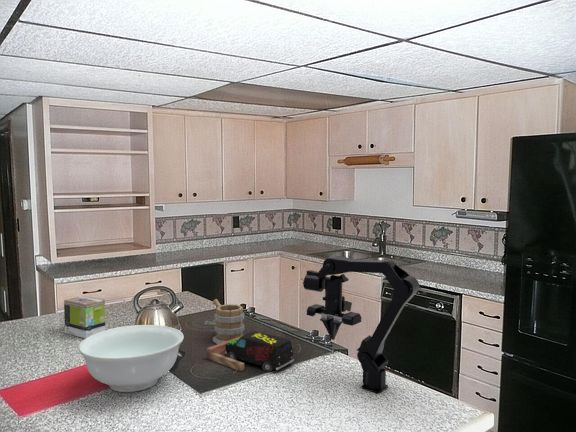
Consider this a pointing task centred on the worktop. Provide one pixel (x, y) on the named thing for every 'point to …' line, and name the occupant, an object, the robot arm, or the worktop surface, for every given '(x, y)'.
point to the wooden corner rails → (217, 356)
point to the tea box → (84, 316)
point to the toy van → (261, 350)
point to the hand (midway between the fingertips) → (332, 339)
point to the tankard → (228, 322)
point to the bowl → (131, 355)
